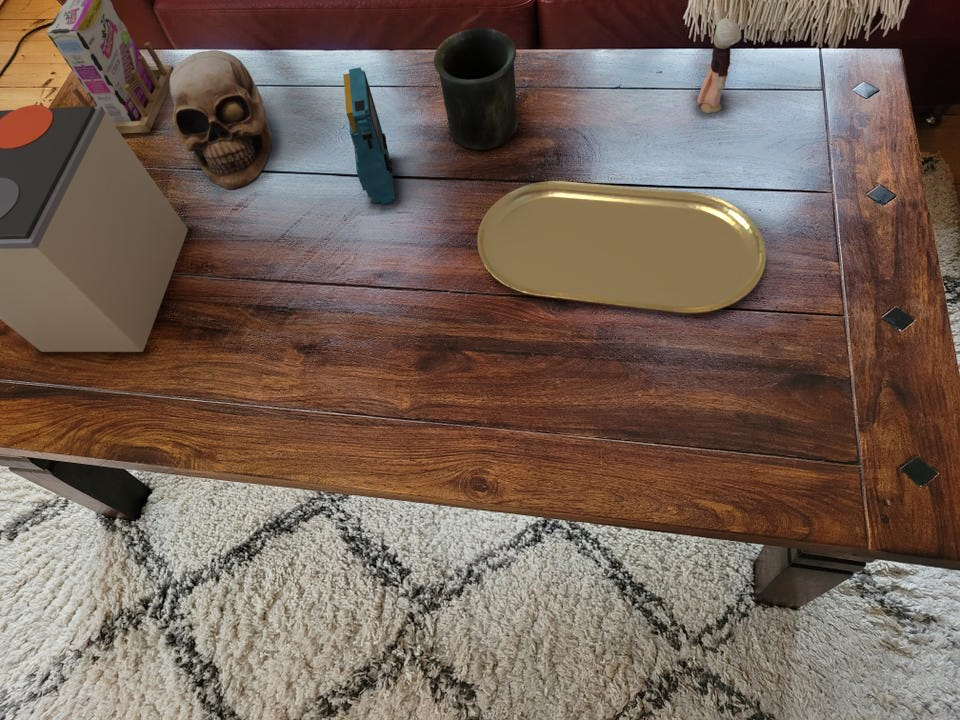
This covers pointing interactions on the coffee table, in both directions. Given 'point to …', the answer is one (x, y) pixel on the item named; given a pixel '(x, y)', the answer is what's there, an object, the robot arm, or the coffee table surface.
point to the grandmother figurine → (718, 65)
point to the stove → (80, 233)
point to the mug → (479, 87)
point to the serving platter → (622, 246)
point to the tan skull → (220, 117)
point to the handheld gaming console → (368, 139)
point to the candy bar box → (100, 55)
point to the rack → (154, 99)
